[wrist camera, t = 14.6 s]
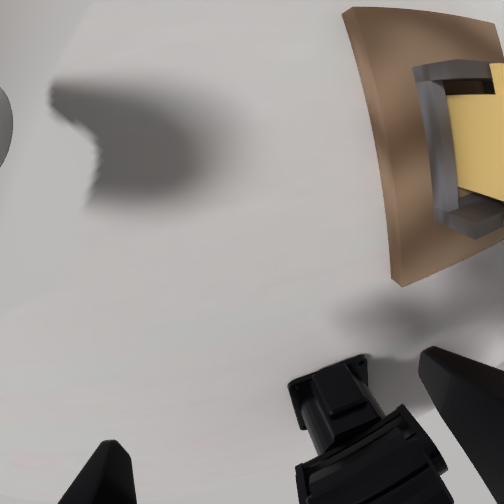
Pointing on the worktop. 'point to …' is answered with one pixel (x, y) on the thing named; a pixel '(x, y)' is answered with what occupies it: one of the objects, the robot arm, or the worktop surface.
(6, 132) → the beverage can
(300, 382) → the robot arm
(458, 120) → the block
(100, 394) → the worktop surface
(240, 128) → the worktop surface
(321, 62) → the worktop surface
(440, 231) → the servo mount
